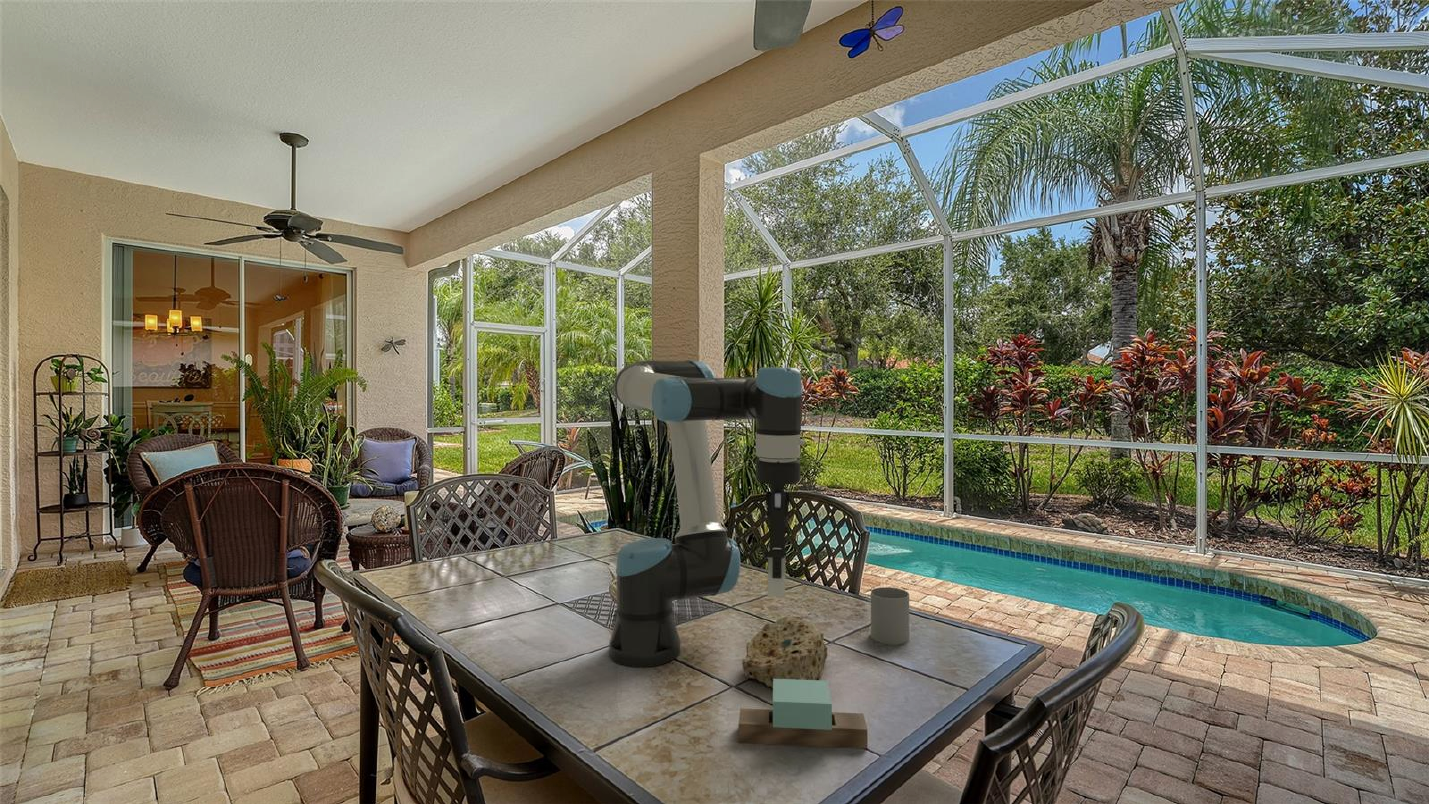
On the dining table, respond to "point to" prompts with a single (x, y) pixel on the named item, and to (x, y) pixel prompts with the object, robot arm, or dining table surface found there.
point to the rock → (786, 651)
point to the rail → (803, 731)
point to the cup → (890, 615)
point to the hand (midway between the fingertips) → (776, 582)
